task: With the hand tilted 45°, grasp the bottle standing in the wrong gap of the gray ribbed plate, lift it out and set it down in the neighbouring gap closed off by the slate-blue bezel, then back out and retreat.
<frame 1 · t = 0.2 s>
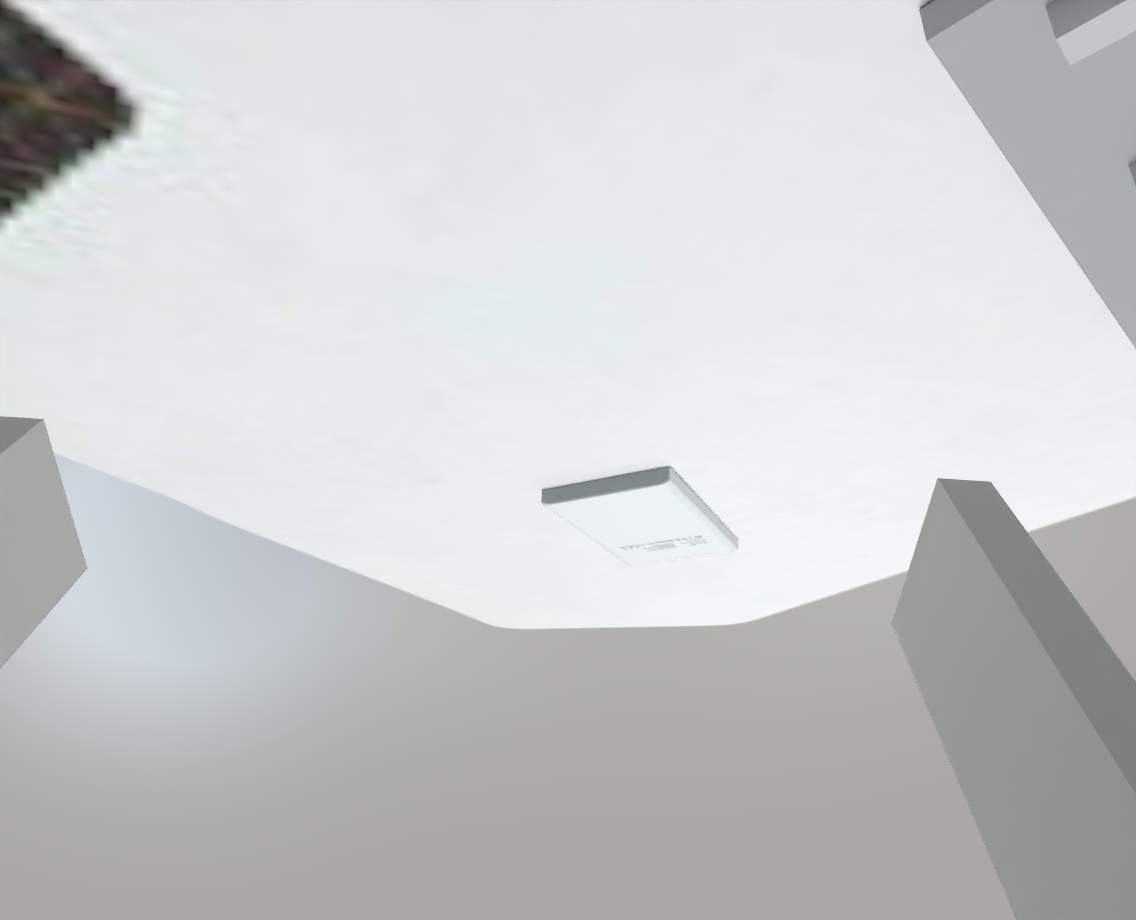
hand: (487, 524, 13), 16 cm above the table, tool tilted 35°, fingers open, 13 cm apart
external hard drive: (645, 505, 54), on the table
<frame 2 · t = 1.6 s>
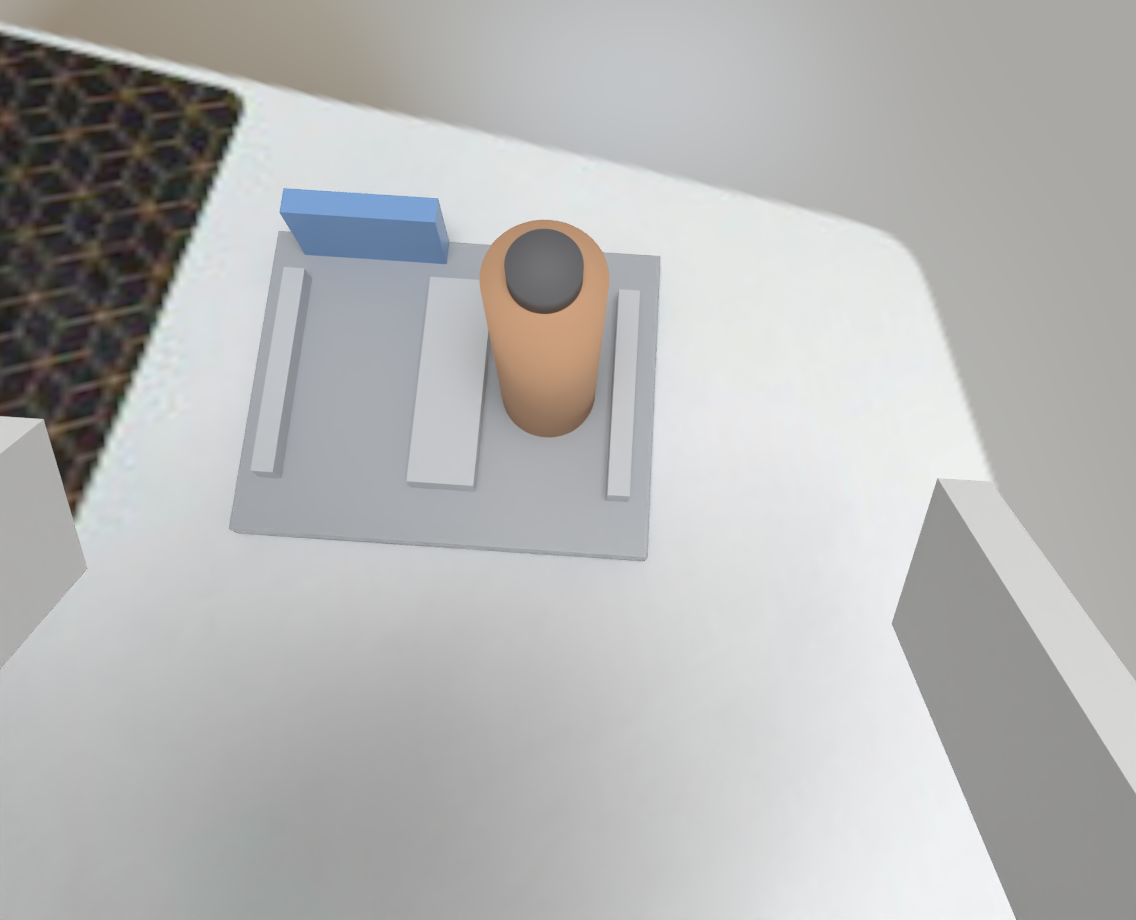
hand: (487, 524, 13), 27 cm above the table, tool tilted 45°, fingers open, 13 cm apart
gray ribbed plate: (457, 394, 42), on the table
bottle: (548, 392, 41), point 1 cm above the table, touching gray ribbed plate
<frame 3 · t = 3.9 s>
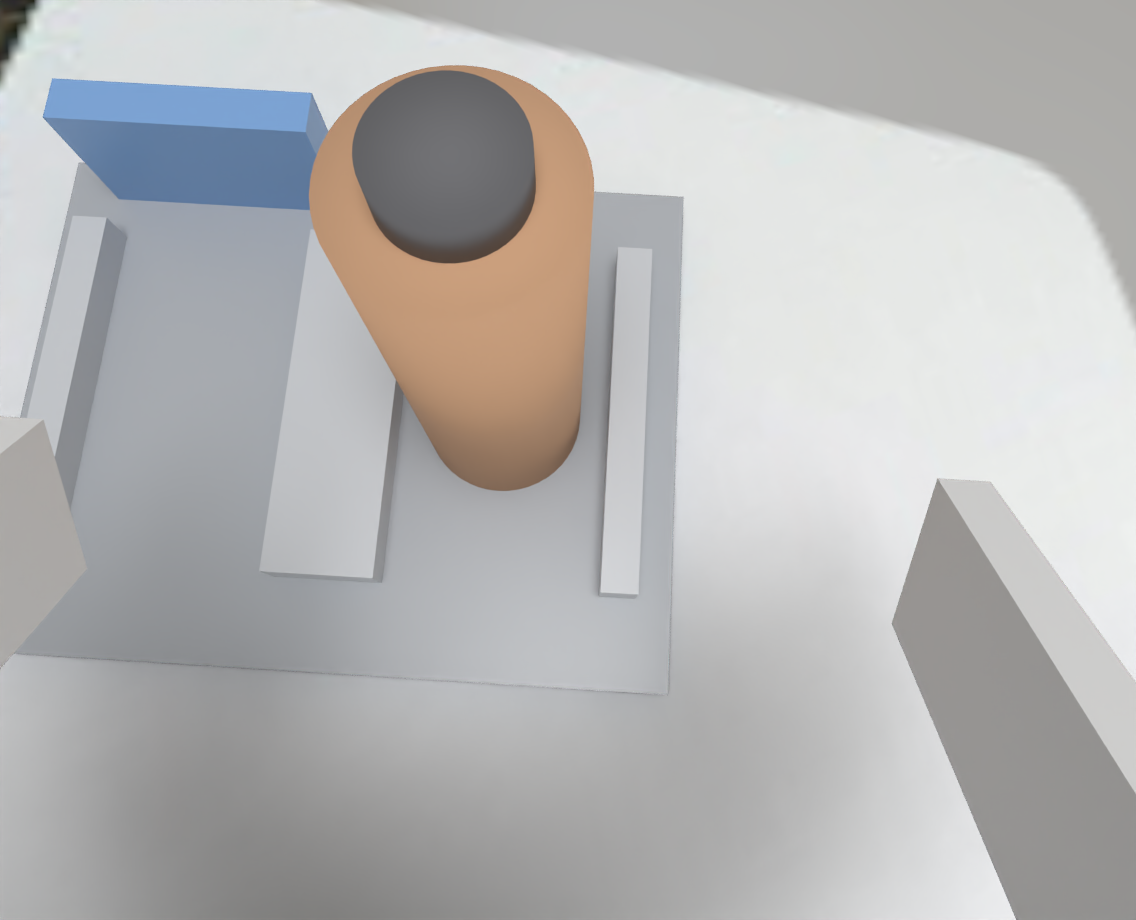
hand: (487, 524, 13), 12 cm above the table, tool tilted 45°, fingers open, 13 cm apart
gray ribbed plate: (359, 419, 26), on the table
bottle: (504, 417, 25), point 1 cm above the table, touching gray ribbed plate
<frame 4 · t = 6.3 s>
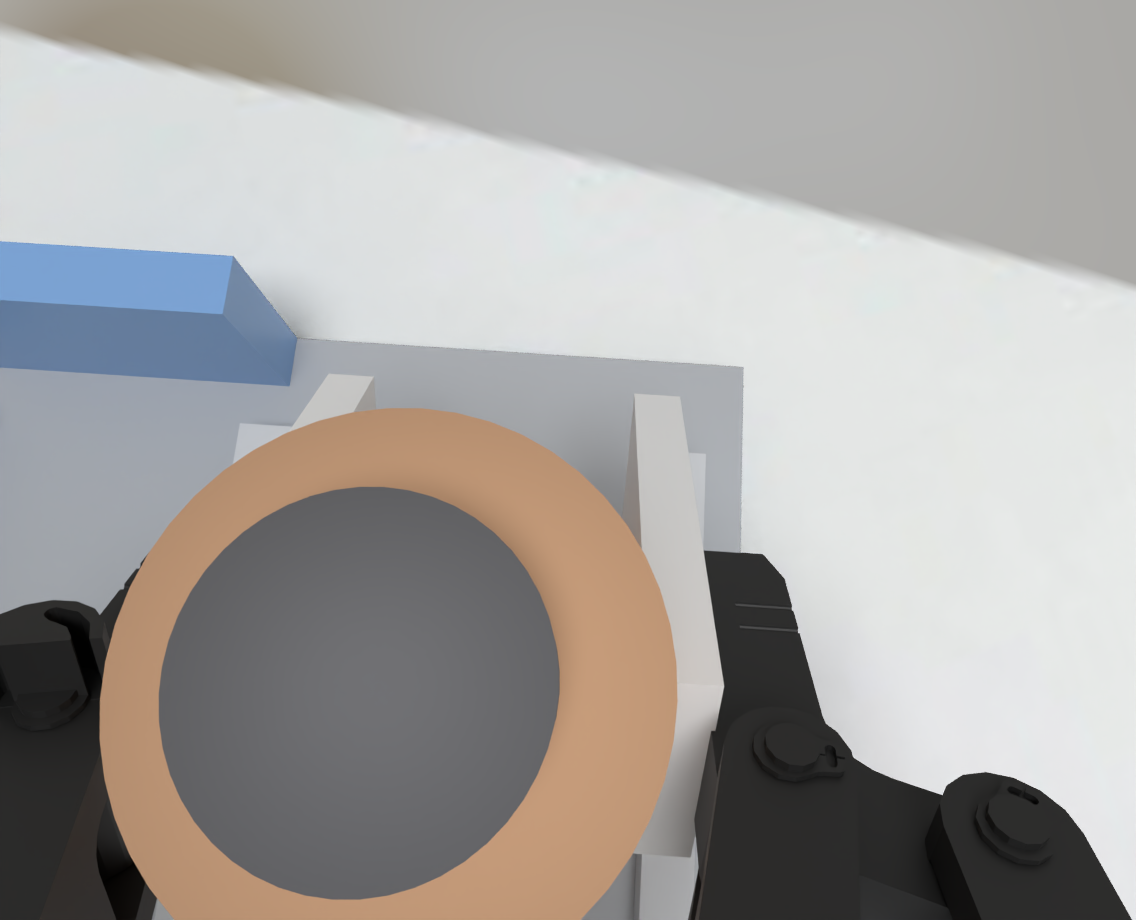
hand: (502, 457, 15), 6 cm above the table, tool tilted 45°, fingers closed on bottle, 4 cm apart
gray ribbed plate: (308, 669, 19), on the table
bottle: (502, 683, 18), point 1 cm above the table, touching gray ribbed plate, gripper
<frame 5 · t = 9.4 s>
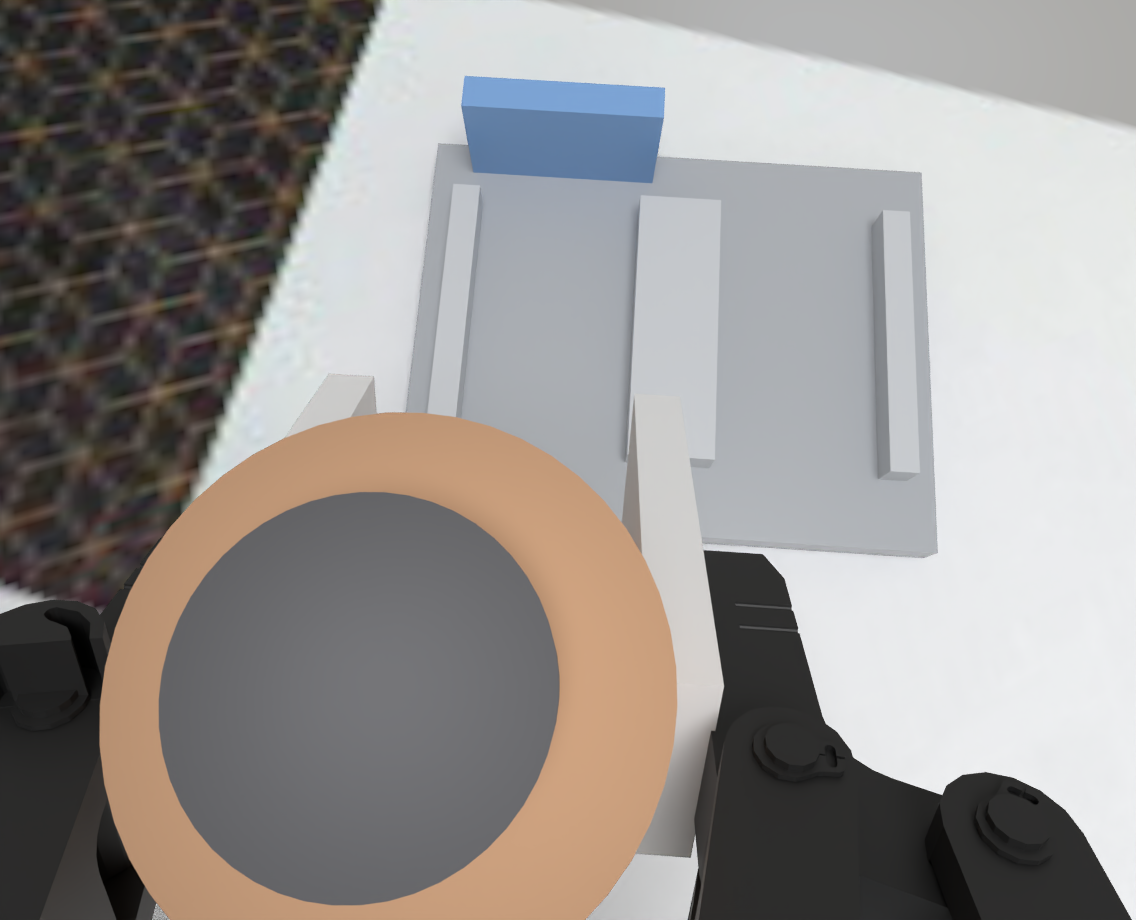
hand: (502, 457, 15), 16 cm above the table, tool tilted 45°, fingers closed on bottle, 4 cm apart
gray ribbed plate: (668, 347, 33), on the table
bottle: (502, 684, 18), point 12 cm above the table, touching gripper
when the fingers open (7 cm above the table, at t = 12.5 s): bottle stays where it is, resting on gray ribbed plate.
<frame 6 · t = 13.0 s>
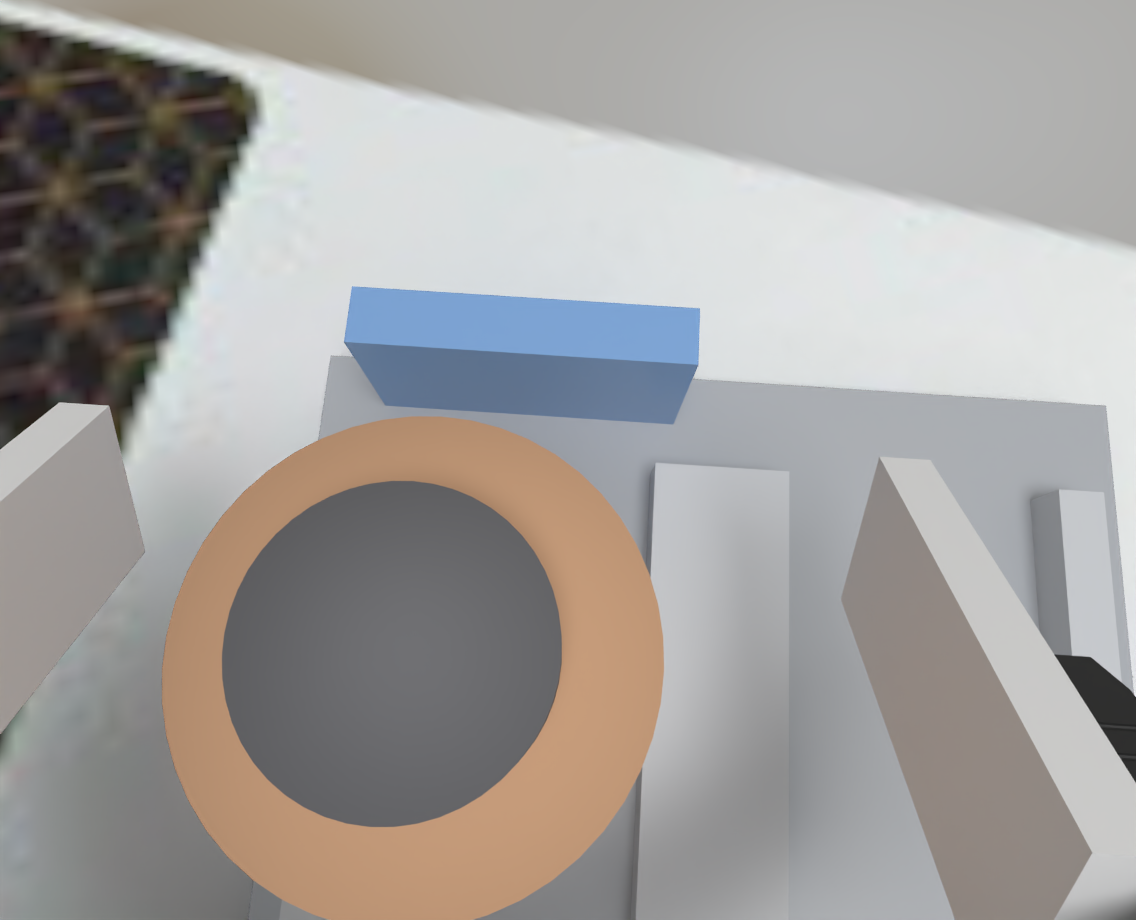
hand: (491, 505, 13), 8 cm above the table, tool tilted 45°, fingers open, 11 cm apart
gray ribbed plate: (699, 696, 20), on the table
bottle: (504, 685, 19), point 1 cm above the table, touching gray ribbed plate
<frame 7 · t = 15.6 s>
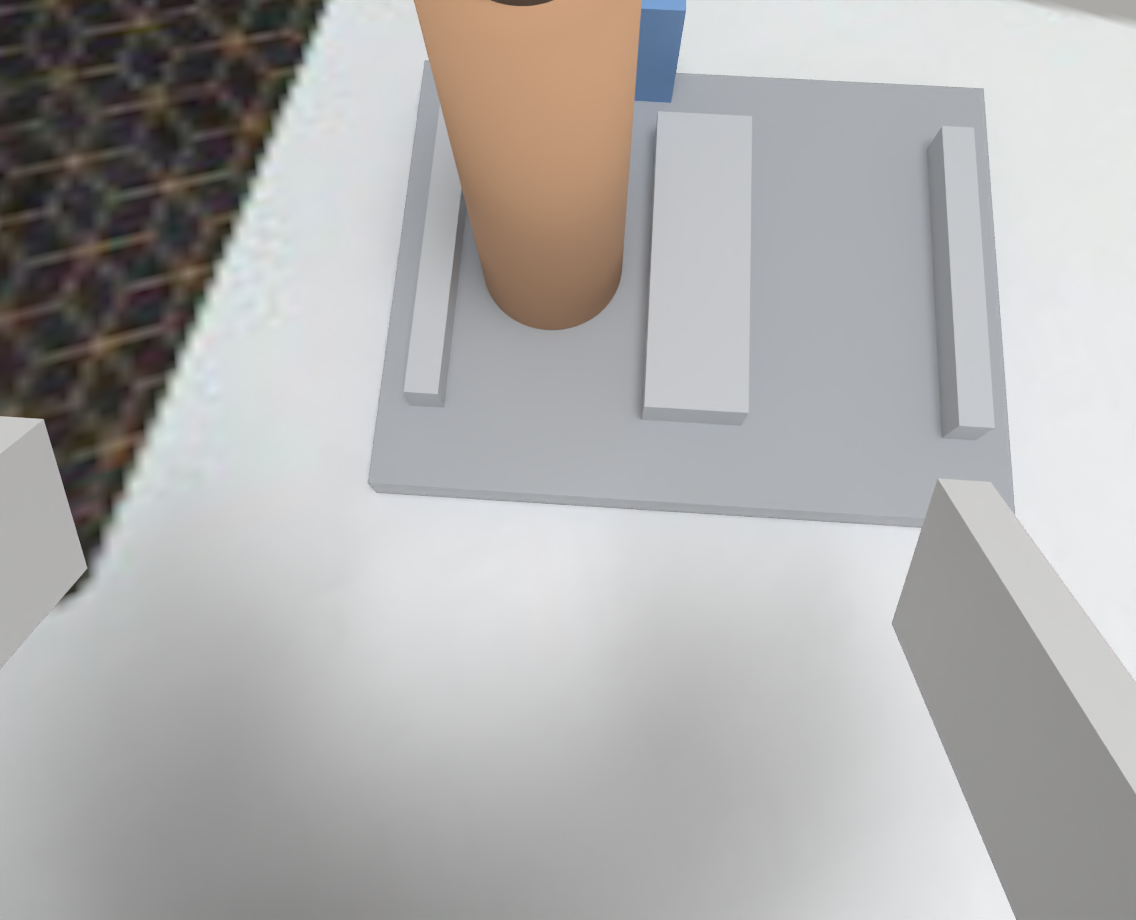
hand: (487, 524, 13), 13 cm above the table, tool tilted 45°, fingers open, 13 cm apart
gray ribbed plate: (690, 290, 28), on the table
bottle: (552, 266, 27), point 1 cm above the table, touching gray ribbed plate
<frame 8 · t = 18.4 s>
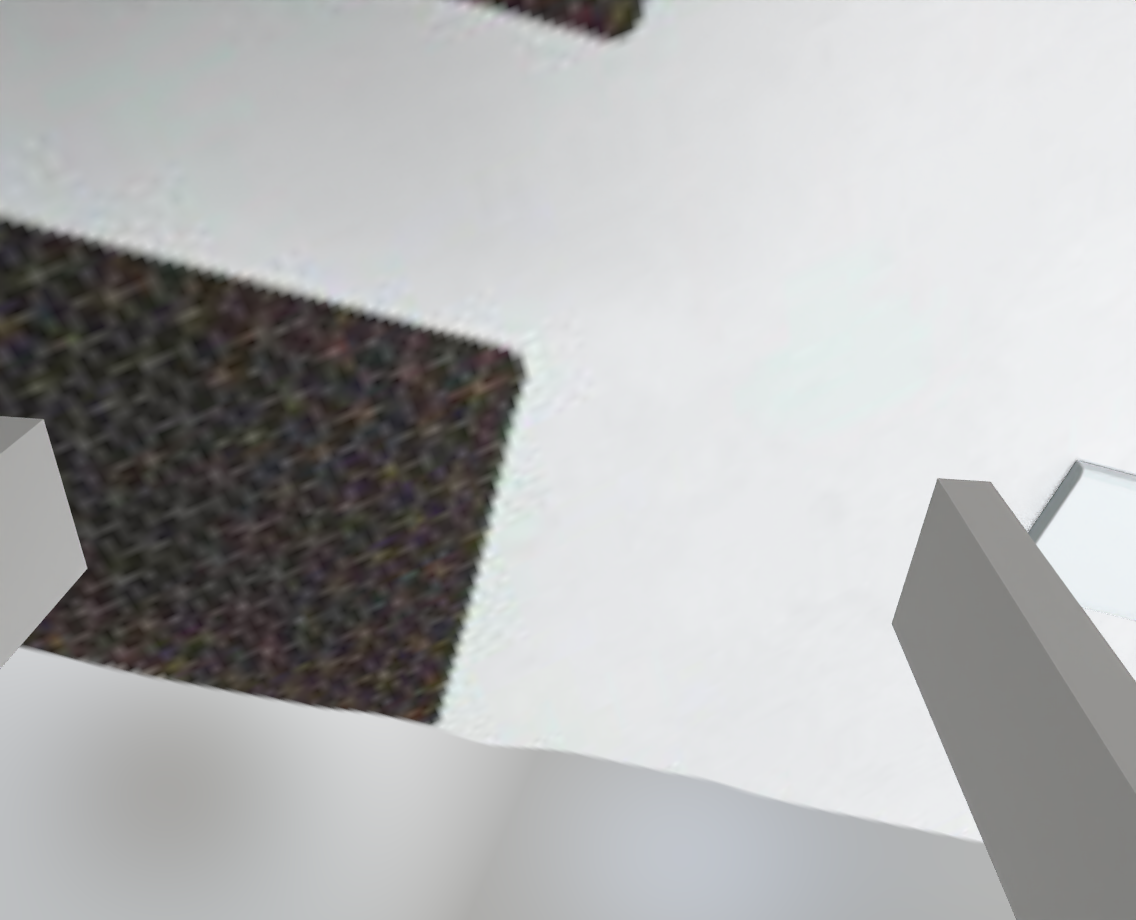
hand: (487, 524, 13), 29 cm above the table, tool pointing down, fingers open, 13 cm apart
external hard drive: (1131, 541, 48), on the table
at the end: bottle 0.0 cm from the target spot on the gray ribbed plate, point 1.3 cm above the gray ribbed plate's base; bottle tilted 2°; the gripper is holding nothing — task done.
